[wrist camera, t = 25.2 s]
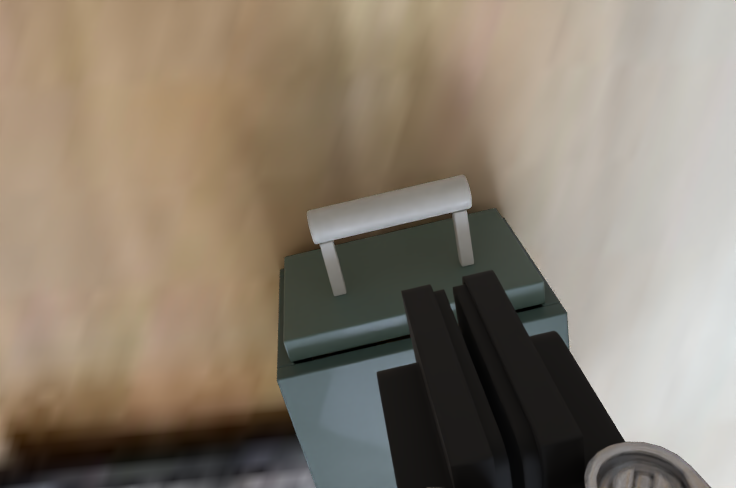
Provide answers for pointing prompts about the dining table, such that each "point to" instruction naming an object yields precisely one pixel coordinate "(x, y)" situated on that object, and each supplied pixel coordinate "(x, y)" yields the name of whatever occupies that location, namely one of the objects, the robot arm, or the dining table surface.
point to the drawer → (394, 266)
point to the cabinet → (363, 399)
